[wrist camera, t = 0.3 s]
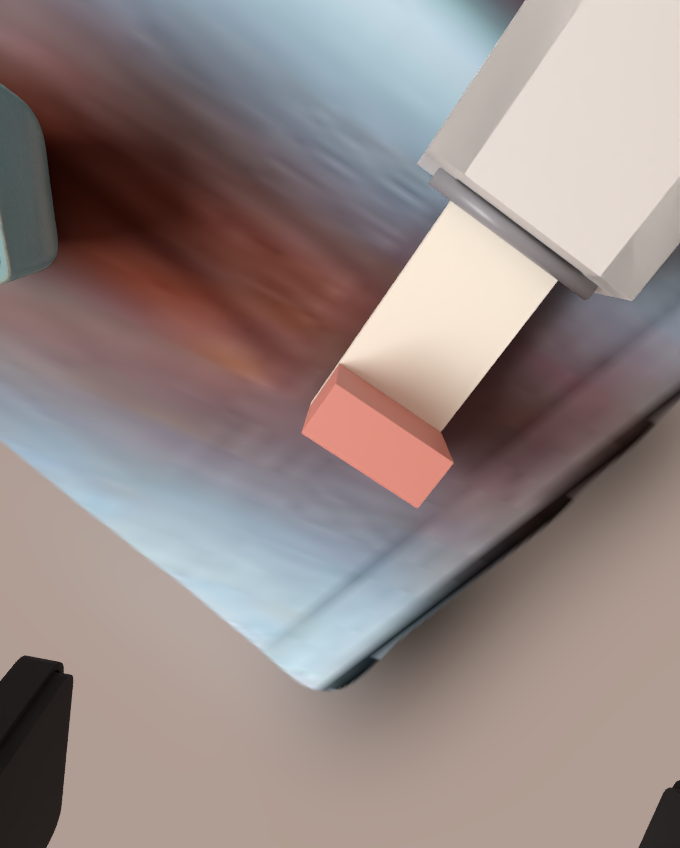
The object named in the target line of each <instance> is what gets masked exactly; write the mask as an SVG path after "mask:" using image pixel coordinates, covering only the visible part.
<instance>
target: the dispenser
mask: <svg viewBox="0 0 680 848" xmlns="http://www.w3.org/2000/svg"><path fill="white" fill-rule="evenodd" d="M417 165H419V166H420V167H421V168H423V169H424V170H425V171H427V172H428V173H429V174H431V175H432V176H433V177H432V179H431V180H430V182H429V183H428V184H429V185H430V186H432V187H433V188H434V189H436V190H437V191H438V192H440V193H441V194H442V195H444V196H445V197H446V198H448V199H449V200H450V201H452V202H453V203H454V204H456V205H457V206H458V207H460V208H461V209H462V210H464V211H465V212H466V213H468V214H469V215H471V216H472V217H473V218H475V219H476V220H477V221H479V222H480V223H481V224H483V225H484V226H485V227H487V228H488V229H489V230H491V231H492V232H493V233H495V234H496V235H497V236H499V237H500V238H501V239H503V240H504V241H505V242H507V243H508V244H510V245H511V246H512V247H514V248H515V249H516V250H518V251H519V252H520V253H522V254H523V255H524V256H526V257H527V258H528V259H530V260H531V261H532V262H534V263H535V264H536V265H538V266H539V267H540V268H542V269H543V270H544V271H546V272H547V273H549V274H550V275H551V276H553V277H554V278H555V279H557V280H558V281H559V282H561V283H562V284H563V285H565V286H566V287H567V288H569V289H570V290H571V291H573V292H574V293H575V294H577V295H578V296H579V297H581V298H582V299H583V300H586V299H588V298H589V297H590V296H591V295H592V294H593V293H598V294H602V295H607V296H612V297H616V298H621V299H625V300H630V301H633V300H634V298H635V297H636V296H637V295H638V293H639V292H640V291H641V290H642V289H643V287H644V286H645V285H646V284H647V282H648V281H649V280H650V279H651V278H652V276H653V275H654V274H655V273H656V271H657V270H658V269H659V268H660V267H661V265H662V264H663V263H664V262H665V260H666V259H667V258H668V257H669V256H670V254H671V253H672V252H673V251H674V249H675V248H676V247H677V246H678V245H679V243H680V0H525V1H524V3H523V4H522V6H521V7H520V9H519V10H518V12H517V13H516V15H515V16H514V18H513V19H512V21H511V22H510V24H509V25H508V27H507V28H506V30H505V31H504V33H503V34H502V36H501V37H500V39H499V41H498V42H497V44H496V45H495V47H494V48H493V50H492V51H491V53H490V54H489V56H488V57H487V59H486V60H485V62H484V63H483V65H482V66H481V68H480V69H479V71H478V72H477V74H476V75H475V77H474V78H473V80H472V81H471V83H470V84H469V86H468V87H467V89H466V90H465V92H464V93H463V95H462V96H461V98H460V99H459V101H458V102H457V104H456V105H455V107H454V108H453V110H452V112H451V113H450V115H449V116H448V118H447V119H446V121H445V122H444V124H443V125H442V127H441V128H440V130H439V131H438V133H437V134H436V136H435V137H434V139H433V140H432V142H431V143H430V145H429V146H428V148H427V149H426V151H425V152H424V154H423V155H422V157H421V158H420V160H419V161H418V163H417Z"/></svg>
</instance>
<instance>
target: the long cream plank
mask: <svg viewBox="0 0 680 848" xmlns="http://www.w3.org/2000/svg"><path fill="white" fill-rule="evenodd" d="M557 281H558V280H557V279H555V278H554V277H553V276H551V275H550V274H549V273H547V272H546V271H544V270H543V269H542V268H540V267H539V266H538V265H536V264H535V263H534V262H532V261H531V260H530V259H528V258H527V257H526V256H524V255H523V254H522V253H520V252H519V251H518V250H516V249H515V248H514V247H512V246H511V245H510V244H508V243H507V242H505V241H504V240H503V239H501V238H500V237H499V236H497V235H496V234H495V233H493V232H492V231H491V230H489V229H488V228H487V227H485V226H484V225H483V224H481V223H480V222H479V221H477V220H476V219H475V218H473V217H472V216H471V215H469V214H468V213H466V212H465V211H464V210H462V209H461V208H460V207H458V206H457V205H456V204H454V203H453V202H452V201H450V202H449V203H448V205H447V206H446V208H445V209H444V211H443V212H442V214H441V215H440V216H439V218H438V219H437V221H436V222H435V224H434V225H433V227H432V228H431V230H430V231H429V232H428V234H427V235H426V237H425V238H424V240H423V241H422V243H421V244H420V245H419V247H418V248H417V250H416V251H415V253H414V254H413V256H412V257H411V259H410V260H409V261H408V263H407V264H406V266H405V267H404V269H403V270H402V272H401V273H400V274H399V276H398V277H397V279H396V280H395V282H394V283H393V285H392V286H391V287H390V289H389V290H388V292H387V293H386V295H385V296H384V298H383V299H382V301H381V302H380V303H379V305H378V306H377V308H376V309H375V311H374V312H373V314H372V315H371V316H370V318H369V319H368V321H367V322H366V324H365V325H364V327H363V328H362V330H361V331H360V332H359V334H358V335H357V337H356V338H355V340H354V341H353V343H352V344H351V345H350V347H349V348H348V350H347V351H346V353H345V354H344V356H343V357H342V358H341V360H340V361H339V363H338V364H337V366H336V367H335V369H334V370H333V372H332V373H331V374H330V376H329V377H328V379H327V380H326V382H325V383H324V385H323V386H322V387H321V389H320V390H319V392H318V393H317V395H316V396H315V398H314V399H313V401H312V402H311V404H310V407H309V411H308V414H307V417H306V420H305V423H304V426H303V430H302V434H304V435H305V436H307V437H308V438H310V439H311V440H313V441H314V442H316V443H317V444H319V445H321V446H322V447H324V448H325V449H327V450H328V451H330V452H331V453H333V454H334V455H336V456H337V457H339V458H341V459H342V460H344V461H345V462H347V463H348V464H350V465H351V466H353V467H354V468H356V469H357V470H359V471H360V472H362V473H364V474H365V475H367V476H368V477H370V478H371V479H373V480H374V481H376V482H377V483H379V484H380V485H382V486H384V487H385V488H387V489H388V490H390V491H391V492H393V493H394V494H396V495H397V496H399V497H400V498H402V499H404V500H405V501H407V502H408V503H410V504H411V505H413V506H414V507H416V508H418V507H419V506H420V505H421V503H422V502H423V501H424V500H425V498H426V497H427V496H428V495H429V493H430V492H431V491H432V490H433V488H434V487H435V486H436V485H437V483H438V482H439V481H440V479H441V478H442V477H443V476H444V474H445V473H446V472H447V471H448V469H449V468H450V467H451V466H452V464H453V463H454V462H453V460H452V457H451V455H450V453H449V450H448V448H447V445H446V443H445V441H444V438H443V436H442V433H441V431H442V430H443V429H444V427H445V426H446V425H447V423H448V422H449V421H450V420H451V418H452V417H453V416H454V414H455V413H456V412H457V411H458V409H459V408H460V407H461V405H462V404H463V403H464V401H465V400H466V399H467V398H468V396H469V395H470V394H471V392H472V391H473V390H474V389H475V387H476V386H477V385H478V383H479V382H480V381H481V379H482V378H483V377H484V376H485V374H486V373H487V372H488V370H489V369H490V368H491V367H492V365H493V364H494V363H495V361H496V360H497V359H498V357H499V356H500V355H501V354H502V352H503V351H504V350H505V348H506V347H507V346H508V345H509V343H510V342H511V341H512V339H513V338H514V337H515V335H516V334H517V333H518V332H519V330H520V329H521V328H522V326H523V325H524V324H525V323H526V321H527V320H528V319H529V317H530V316H531V315H532V313H533V312H534V311H535V310H536V308H537V307H538V306H539V304H540V303H541V302H542V301H543V299H544V298H545V297H546V295H547V294H548V293H549V291H550V290H551V289H552V288H553V286H554V285H555V284H556V282H557Z"/></svg>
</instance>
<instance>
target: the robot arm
mask: <svg viewBox="0 0 680 848" xmlns="http://www.w3.org/2000/svg"><path fill="white" fill-rule="evenodd" d="M63 672H64V667H63V664H62V663H61V662H57V661H51V660H46V659H41V658H35V657H31V656H23V657H21V658H20V659H19V660H18V661H17V662H16V663H15V664H14V665H13V666H12V668H11V669H10V670H9V671H8V672H7V674H6V675H5V676H4V677H3V679H2V680H1V681H0V848H46V847H47V845H48V843H49V841H50V839H51V837H52V835H53V833H54V830H55V828H56V826H57V822H58V819H59V816H60V811H61V805H62V795H63V784H64V774H65V763H66V752H67V742H68V731H69V721H70V710H71V700H72V689H73V676H72V675H69V674H64V673H63ZM639 848H680V780H679V781H677V782H676V783H675V784H674V786H673V787H672V788H668V789H666V790H665V792H664V793H663V795H662V797H661V799H660V802H659V804H658V806H657V808H656V811H655V813H654V815H653V817H652V819H651V821H650V824H649V826H648V828H647V830H646V833H645V835H644V837H643V840H642V841H641V844H640V846H639Z"/></svg>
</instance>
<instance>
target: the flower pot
mask: <svg viewBox="0 0 680 848" xmlns="http://www.w3.org/2000/svg"><path fill="white" fill-rule="evenodd" d="M57 252H58V236H57V228H56V222H55V215H54V208H53V200H52V193H51V185H50V178H49V170H48V162H47V154H46V147H45V141H44V136H43V133H42V130H41V127H40V124H39V122H38V120H37V118H36V116H35V115H34V113H33V112H32V110H31V109H30V108H29V106H28V105H27V104H26V103H25V102H24V101H23V100H22V99H20V98H19V97H18V96H17V95H16V94H14V93H13V92H12V91H10V90H9V89H8V88H6V87H5V86H3V85H2V84H1V83H0V284H3V283H6V282H9V281H13V280H15V279H18V278H22V277H25V276H27V275H30V274H33V273H36V272H39V271H41V270H43V269H45V268H47V267H48V266H49V265H50V264H51V263H52V262H53V261H54V260H55V258H56V255H57Z"/></svg>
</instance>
